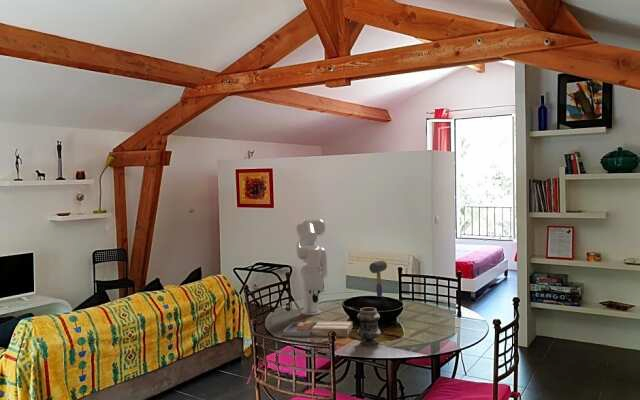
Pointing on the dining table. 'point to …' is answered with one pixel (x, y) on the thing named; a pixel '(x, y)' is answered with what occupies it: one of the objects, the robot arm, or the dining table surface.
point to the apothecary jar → (368, 326)
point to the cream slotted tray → (332, 328)
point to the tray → (292, 330)
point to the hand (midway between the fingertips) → (315, 302)
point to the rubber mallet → (378, 274)
